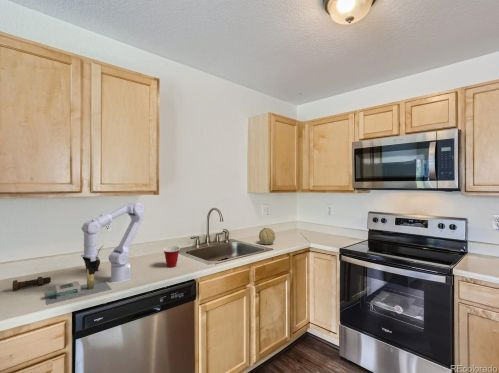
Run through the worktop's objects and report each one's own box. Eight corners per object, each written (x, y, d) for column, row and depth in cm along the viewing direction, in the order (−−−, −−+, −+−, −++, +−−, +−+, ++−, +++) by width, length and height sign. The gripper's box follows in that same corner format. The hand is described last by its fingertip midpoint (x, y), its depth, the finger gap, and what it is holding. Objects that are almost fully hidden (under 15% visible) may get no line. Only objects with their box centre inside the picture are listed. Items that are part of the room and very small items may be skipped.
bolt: (50, 287, 138) (12, 294, 127) (49, 280, 141) (12, 287, 130) (52, 278, 136) (13, 286, 125) (50, 272, 139) (13, 278, 128)
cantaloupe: (278, 245, 230) (278, 228, 230) (265, 247, 222) (265, 229, 222) (268, 241, 242) (268, 225, 242) (255, 243, 234) (255, 227, 234)
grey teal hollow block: (78, 288, 131) (78, 281, 131) (80, 293, 125) (80, 285, 125) (46, 295, 122) (46, 287, 122) (47, 301, 116) (47, 292, 116)
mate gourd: (83, 272, 155) (83, 247, 155) (93, 268, 163) (93, 244, 163) (95, 273, 154) (95, 248, 154) (104, 268, 162) (104, 245, 162)
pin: (93, 286, 133) (93, 267, 133) (94, 288, 131) (94, 268, 131) (86, 288, 131) (86, 268, 131) (87, 290, 129) (87, 270, 129)
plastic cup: (160, 269, 163) (160, 250, 163) (165, 263, 174) (165, 245, 173) (177, 269, 163) (178, 250, 163) (181, 263, 174) (182, 246, 174)
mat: (104, 281, 142) (104, 280, 142) (111, 290, 130) (111, 289, 130) (44, 293, 125) (44, 292, 125) (46, 306, 113) (46, 304, 113)
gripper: (78, 243, 133) (78, 270, 134) (83, 249, 122) (83, 278, 123) (94, 242, 138) (94, 267, 138) (100, 247, 127) (100, 274, 127)
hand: (90, 272), depth 131 cm, fingers open, 7 cm apart
